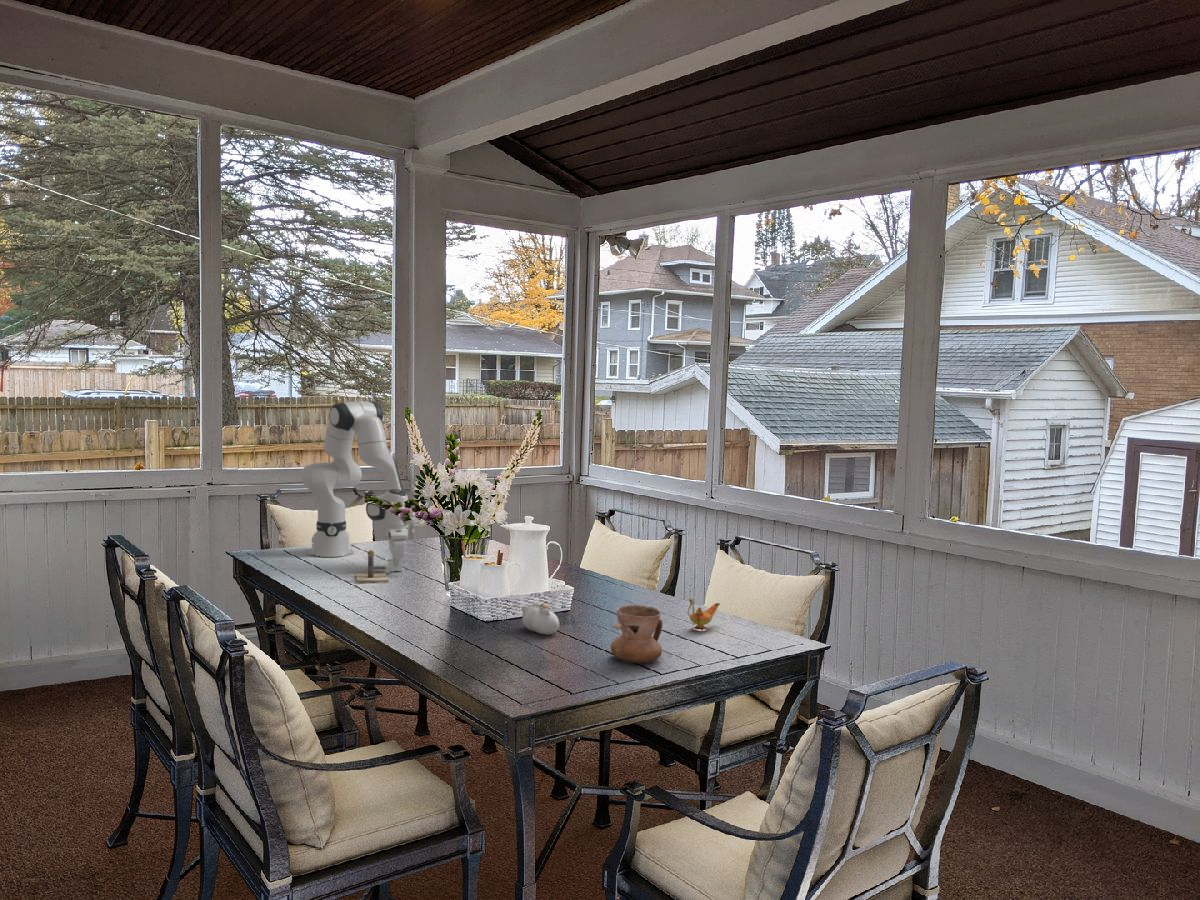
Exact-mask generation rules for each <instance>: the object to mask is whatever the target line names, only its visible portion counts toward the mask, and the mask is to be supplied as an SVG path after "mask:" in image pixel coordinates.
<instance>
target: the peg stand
mask: <svg viewBox="0 0 1200 900" xmlns="http://www.w3.org/2000/svg"><path fill="white" fill-rule="evenodd" d="M374 561H375V551H374V550H369V551H368V552H367V566H368V572H354V573H355V574H354V575H355V579H356V582H358V583H360V584H369V583H368V582H384V583H389V578H388V576H387V575H388V574H386V573H385V572H374V566H375V565H374V563H375V562H374ZM366 582H367V583H366ZM358 583H357V584H358Z"/></svg>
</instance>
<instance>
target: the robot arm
mask: <svg viewBox="0 0 1200 900" xmlns="http://www.w3.org/2000/svg"><path fill="white" fill-rule="evenodd" d="M383 418H384V410H383V408H382V406H381V404H380V403H379V402H376V401H373V400H355V401H347V402H346V401H345V402H338V403H335V404H333V405H331V407H330V409H329V413H328V419H329V421H328V424H327V428H326V434H325V437H324V442H323V450H324V452H325V453H326V454H327V455H328V456H329V457H331V458H333V461H331V462H315V463H311V464H308V465H305V466H304V467H303V468H302V469H301V473H300V480H301V483H302V484H303V486H304V487H305V488H307V489H308V490H309V491H310V492H311V493H312V495H313V496H314V498H315V502H316V506H317V507H316V508H317V521H316V524H315V527H316V532H315V533H314V534H313V535H312V537H311V543H312V544H311V548H310V549H309V550H308V552H307V556H314V555H315V556H316V557H319V556H320V558H337V557H345V556H348V555H354V554H355V550H353V549H352V548H351V546H350V543H351V541H350V540H351V539H350V538H351V537H350V534H349V532H348V531H347V530H346V529H347V521H346V503H345V502H344V501H343V499H341V498H340V497H338V496H336V495H335V494H334V489H343V488H347V489H348V488H349V487H350V488H351V487H354V486H357V485H359V483H360V482H361V480H362V479H363V472H362V469H361V467H360V466H359V464H358V463H356V462H355V461H354V459H353V455H352V450H353V443H354V438H355V433H356V440H357V441H356V443H357V450H358V455H359V457H360V459H361V461H362V462H363V463H364V464H366V465H367V466H370V467H372V468H375V469H376V470H378V471H380V472H381V473H382V474H383V476H384V479H385V483H386V487H387V488H386V489H387V491H386V492H385V493H383V494H381V495H378V496H376V497H377V498H380V499H382V500H385V501H389V502H401V503H404V502H405V501H407V500H408V501H409V497H408V494H407V492H405V491H404V487H403V483H402V479H401V477H400V476H401V475H400V472H399V470H398V466H397V462H396V460H395V458H394V457H393V456H392V454H391V453H390V451H389V450H390V449H389V448H388V444H387V443H388V442H387V439H386V438H387V437H386V433H385V429H384V426H383V422H382V421H383ZM365 512H366V514H367V517H368V518H369V519H370V520H371V521H374V522H375V521H376V522H381V521H382V522H383V521H384V524H385V525H384V526H385V527H384V536H385V537H386V538H388V539H387V540H388V550H389V552H390V554H391V556H392V559H394V567H395V568H398V567H399V562H400V559H402V560H405V559H404V558H405V555H406V554H405V553H406V542H407V541H406V540H408V536H409V528H408V529H406V528H405V526H404V523H403V521H402V520H401V519H400V518H399V517H397V516H396V515H395V514H393V513H391V512H390V511H388V510H385V509H382V508H380V507H379V506H377V505H375V504H372V503H368V501H367V503H366V505H365ZM315 556H314V557H315Z"/></svg>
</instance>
